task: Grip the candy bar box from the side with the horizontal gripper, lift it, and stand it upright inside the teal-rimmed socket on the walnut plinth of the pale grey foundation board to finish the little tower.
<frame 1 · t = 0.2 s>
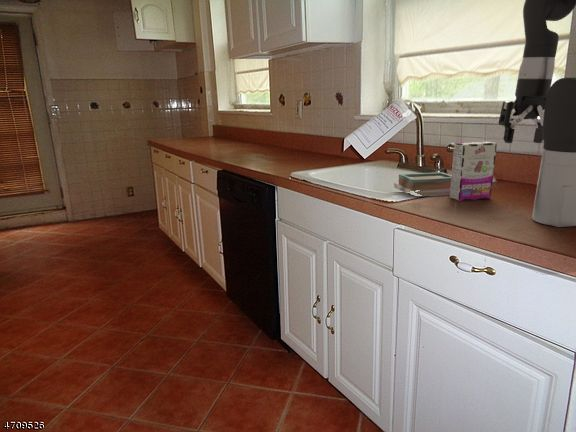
hand: (522, 142, 111), 17 cm above the worktop, tool pointing down, fingers open, 8 cm apart
foundation: (426, 190, 136), on the worktop
candy bar box: (469, 198, 127), on the worktop
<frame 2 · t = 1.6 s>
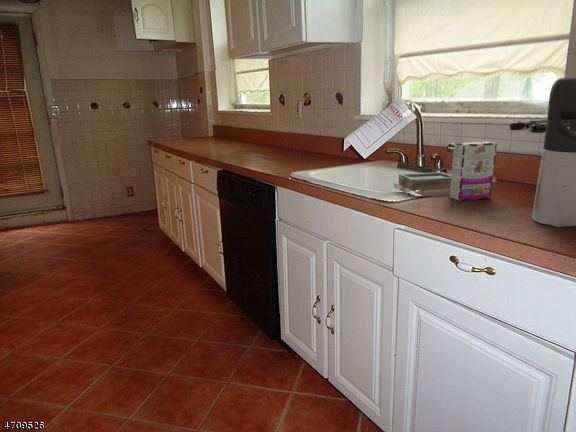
hand: (521, 127, 124), 20 cm above the worktop, tool horizontal, fingers open, 8 cm apart
nothing on the worktop moved.
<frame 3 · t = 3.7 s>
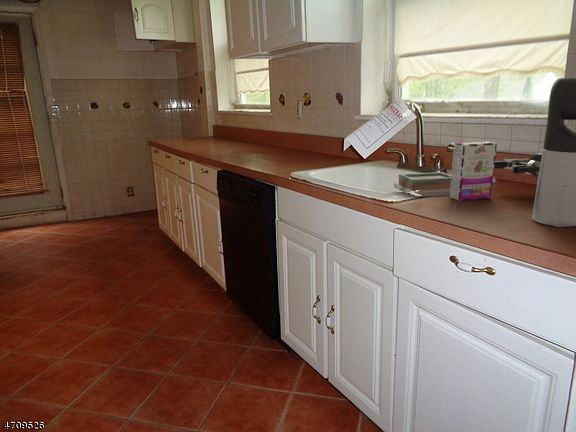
hand: (503, 167, 126), 9 cm above the worktop, tool horizontal, fingers open, 8 cm apart
nothing on the worktop moved.
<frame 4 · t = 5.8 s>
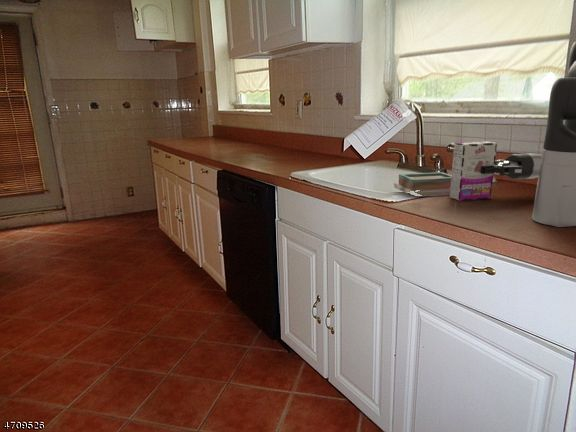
hand: (475, 168, 124), 9 cm above the worktop, tool horizontal, fingers closed on candy bar box, 5 cm apart
candy bar box: (469, 198, 127), on the worktop, touching gripper
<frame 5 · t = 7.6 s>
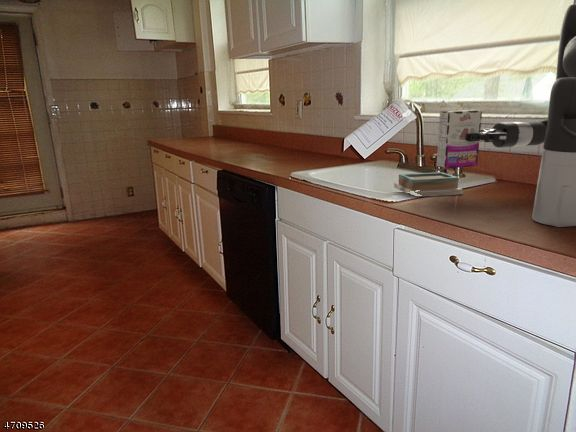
hand: (461, 136, 126), 18 cm above the worktop, tool horizontal, fingers closed on candy bar box, 5 cm apart
candy bar box: (455, 167, 129), point 9 cm above the worktop, touching gripper
when the fingers open (14 cm above the worktop, at t = 9.4 s): candy bar box drops 1 cm, resting on foundation.
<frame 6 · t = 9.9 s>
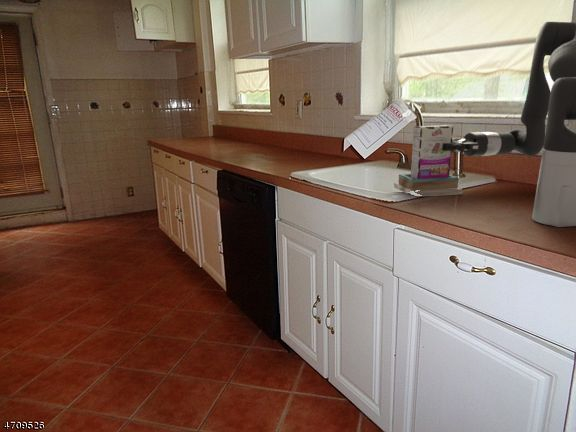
hand: (435, 145, 133), 14 cm above the worktop, tool horizontal, fingers open, 8 cm apart
candy bar box: (429, 179, 135), point 4 cm above the worktop, touching foundation
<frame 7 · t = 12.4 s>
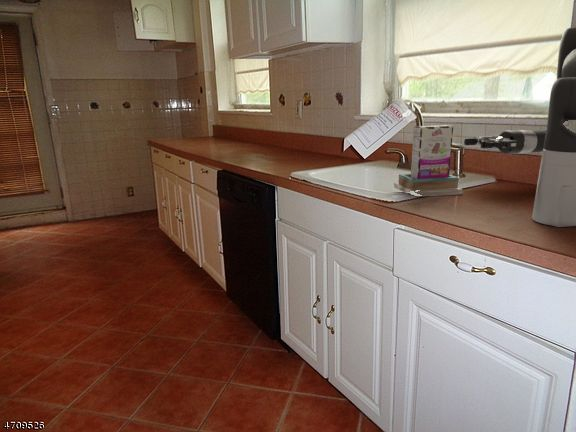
hand: (473, 143, 135), 15 cm above the worktop, tool horizontal, fingers open, 8 cm apart
nothing on the worktop moved.
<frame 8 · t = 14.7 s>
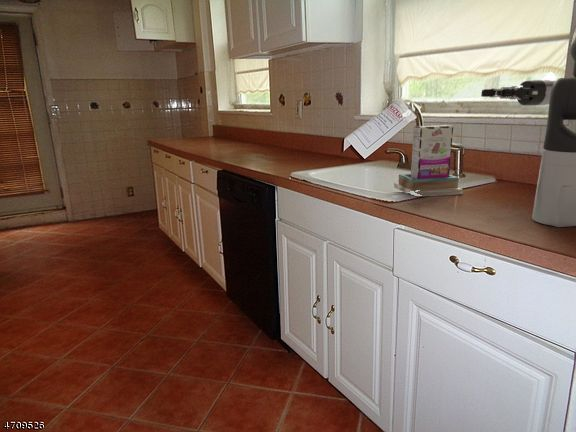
hand: (491, 92, 128), 30 cm above the worktop, tool horizontal, fingers open, 8 cm apart
nothing on the worktop moved.
at the end: candy bar box 0.3 cm off-centre on the foundation, point 3.8 cm above the foundation's base; candy bar box tilted 0°; the gripper is holding nothing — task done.
